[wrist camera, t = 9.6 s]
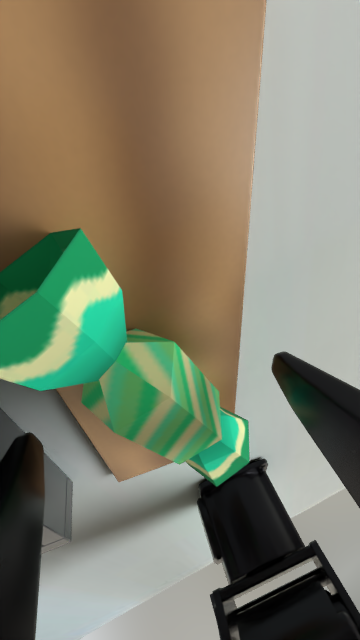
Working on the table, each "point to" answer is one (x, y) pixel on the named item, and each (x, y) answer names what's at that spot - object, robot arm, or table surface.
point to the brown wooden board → (138, 165)
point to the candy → (111, 358)
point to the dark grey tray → (46, 492)
